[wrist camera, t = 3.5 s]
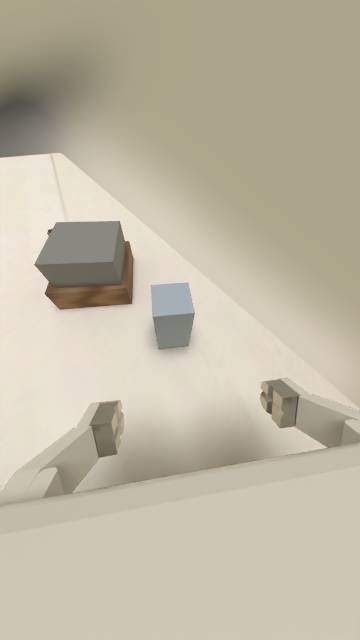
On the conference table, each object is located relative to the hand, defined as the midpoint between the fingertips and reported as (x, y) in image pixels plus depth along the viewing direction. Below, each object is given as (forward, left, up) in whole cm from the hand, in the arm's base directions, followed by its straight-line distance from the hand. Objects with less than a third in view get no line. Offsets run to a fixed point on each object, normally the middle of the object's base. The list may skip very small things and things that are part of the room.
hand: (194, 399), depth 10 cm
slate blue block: (0, +11, -13) cm, 17 cm away
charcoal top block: (-12, +24, -9) cm, 28 cm away
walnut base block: (-13, +24, -14) cm, 30 cm away
